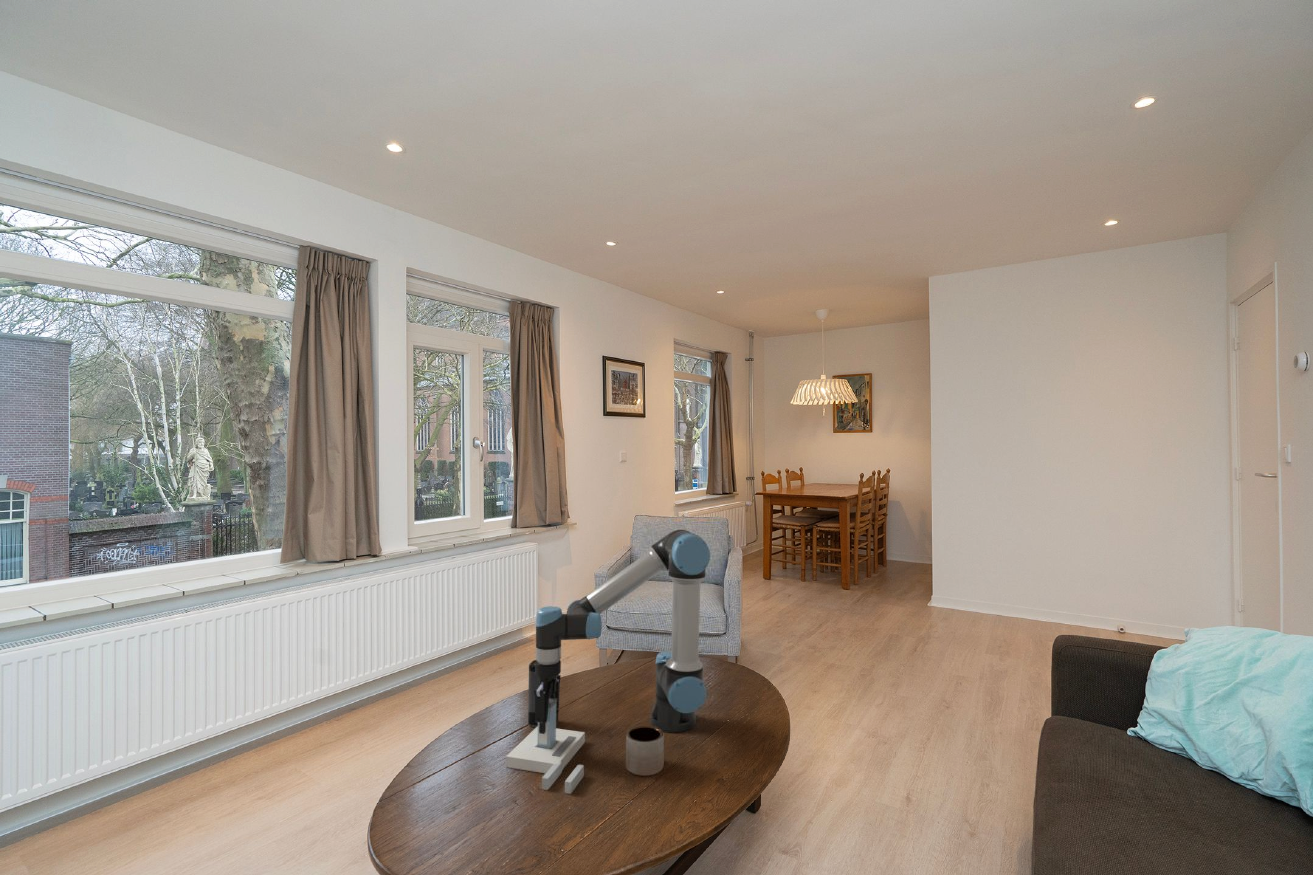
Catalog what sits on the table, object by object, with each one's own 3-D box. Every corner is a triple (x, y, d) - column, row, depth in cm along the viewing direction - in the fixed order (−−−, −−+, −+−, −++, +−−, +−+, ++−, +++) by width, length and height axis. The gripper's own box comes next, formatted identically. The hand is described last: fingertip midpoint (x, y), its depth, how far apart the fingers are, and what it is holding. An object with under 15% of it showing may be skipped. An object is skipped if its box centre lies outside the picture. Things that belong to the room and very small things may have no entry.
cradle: (583, 776, 167) (583, 765, 168) (570, 793, 159) (570, 782, 159) (556, 771, 170) (556, 760, 170) (541, 788, 161) (541, 777, 161)
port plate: (584, 742, 187) (585, 730, 187) (557, 775, 168) (557, 762, 168) (537, 735, 191) (537, 724, 192) (506, 766, 172) (506, 754, 172)
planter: (668, 761, 176) (668, 728, 176) (656, 780, 166) (656, 745, 166) (633, 754, 180) (634, 722, 180) (619, 773, 169) (620, 738, 170)
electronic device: (559, 720, 202) (560, 660, 203) (554, 728, 196) (555, 666, 197) (532, 719, 203) (533, 659, 204) (526, 727, 197) (527, 665, 198)
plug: (556, 742, 181) (556, 698, 182) (549, 749, 177) (550, 703, 178) (543, 740, 182) (544, 696, 183) (536, 747, 178) (537, 702, 179)
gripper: (549, 650, 190) (547, 725, 189) (523, 668, 173) (521, 751, 173) (571, 652, 188) (570, 728, 187) (547, 671, 171) (545, 755, 171)
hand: (546, 739), depth 180 cm, fingers closed on plug, 4 cm apart
